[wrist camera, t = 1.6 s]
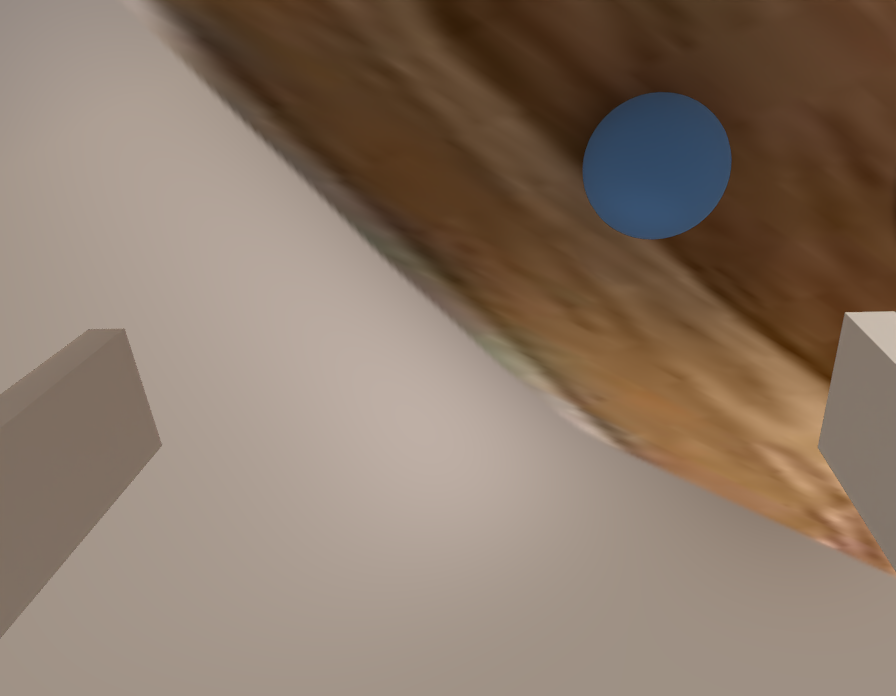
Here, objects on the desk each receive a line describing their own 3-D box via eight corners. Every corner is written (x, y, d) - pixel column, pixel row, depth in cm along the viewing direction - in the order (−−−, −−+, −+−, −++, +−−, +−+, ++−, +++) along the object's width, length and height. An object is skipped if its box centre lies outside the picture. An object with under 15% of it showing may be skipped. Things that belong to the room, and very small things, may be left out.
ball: (558, 122, 29) (564, 143, 24) (688, 61, 27) (723, 70, 22) (604, 238, 31) (619, 280, 26) (728, 187, 29) (768, 221, 24)
